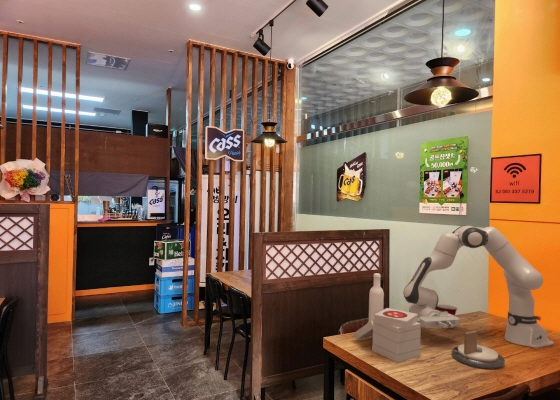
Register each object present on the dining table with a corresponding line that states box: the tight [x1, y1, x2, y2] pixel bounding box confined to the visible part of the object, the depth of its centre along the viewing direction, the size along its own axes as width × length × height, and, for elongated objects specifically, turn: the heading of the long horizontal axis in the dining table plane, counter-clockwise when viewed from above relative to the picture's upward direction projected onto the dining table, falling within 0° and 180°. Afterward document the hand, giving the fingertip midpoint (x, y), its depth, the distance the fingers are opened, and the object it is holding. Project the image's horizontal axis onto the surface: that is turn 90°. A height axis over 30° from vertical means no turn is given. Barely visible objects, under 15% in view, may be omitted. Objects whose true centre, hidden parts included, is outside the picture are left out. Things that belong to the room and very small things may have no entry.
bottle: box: [367, 272, 385, 323], centre depth 210 cm, size 8×8×30 cm
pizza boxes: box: [353, 307, 422, 363], centre depth 180 cm, size 19×30×18 cm, turn 31°
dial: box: [457, 330, 499, 362], centre depth 171 cm, size 16×16×10 cm
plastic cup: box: [437, 304, 459, 330], centre depth 216 cm, size 11×11×12 cm
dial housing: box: [451, 346, 506, 371], centre depth 171 cm, size 21×21×2 cm
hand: (449, 326), depth 183 cm, fingers closed
